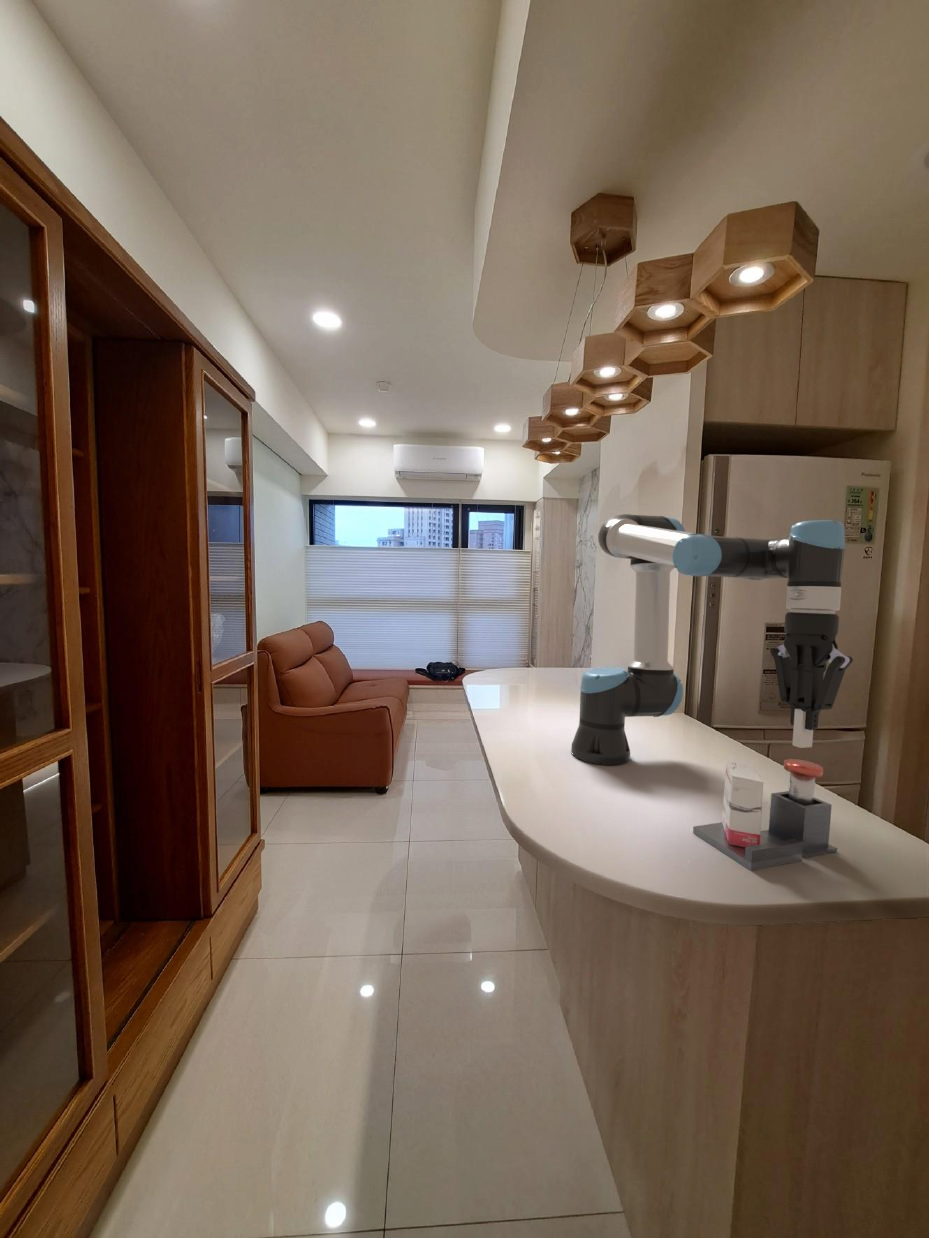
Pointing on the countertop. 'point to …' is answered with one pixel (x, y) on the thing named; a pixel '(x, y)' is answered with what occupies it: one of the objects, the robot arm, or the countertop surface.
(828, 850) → the housing
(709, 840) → the tray
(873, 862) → the countertop surface
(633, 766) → the countertop surface
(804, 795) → the plunger
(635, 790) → the countertop surface
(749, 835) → the ink box
